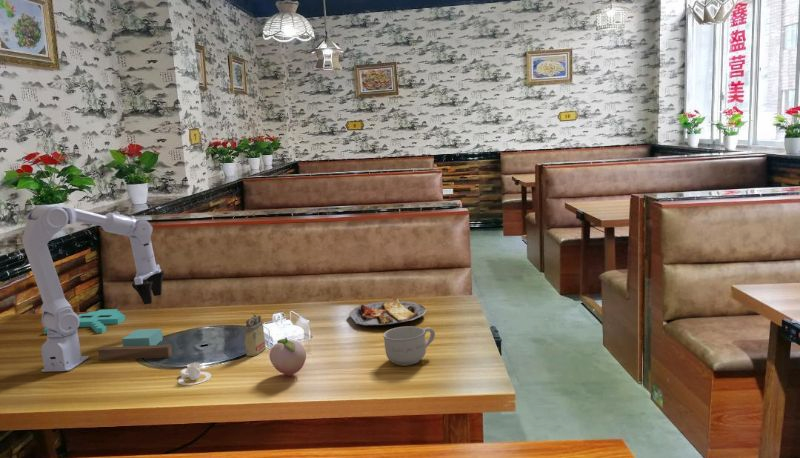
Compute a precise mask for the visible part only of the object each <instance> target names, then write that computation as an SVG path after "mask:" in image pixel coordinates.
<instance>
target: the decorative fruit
mask: <svg viewBox="0 0 800 458" xmlns="http://www.w3.org/2000/svg"><path fill="white" fill-rule="evenodd" d="M284 337H285V336H284ZM268 356H269V359H270V363H271V364H272V366H273V367H274V368H275V370H276V371H278V373H280V374H283V375H285V376H287V377H291V376H293V375H295V374H297V373H298V372H300V371H301V370H302V368H303V366H304V364H305V362H306V360H307V351H306V348H305V346H304V345H303V344H302V343H300V342H298V341H297V340H293V339H288V337H285V338H282V339H281V338H280V339H278V340H277V343H275V344H274V345H273V346H272V348H271V349H270V352H269V355H268Z"/></svg>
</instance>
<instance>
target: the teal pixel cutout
mask: <svg viewBox="0 0 800 458" xmlns="http://www.w3.org/2000/svg"><path fill="white" fill-rule="evenodd" d="M77 315H78V317H79V319H80V324H79V327H78V328H90V329H91V330H93V332H95V334H103V332H104V333H106V332H107V326H106V325H119V324H121V323H122V322H124V321H126V315H125V314H123V312H121V311H120V310H118V309H117V308H112V309H110V308H109V309H98V310H95V311H89V312H87V313H79V314H77ZM47 332H48V329H46V328H45V327H44V329H43V334H44V335H45V334H47Z"/></svg>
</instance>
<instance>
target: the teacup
mask: <svg viewBox="0 0 800 458" xmlns="http://www.w3.org/2000/svg"><path fill="white" fill-rule="evenodd" d="M428 332H429V337H428V339H426V334H427V333H428ZM382 335H383V340H384V342H383V343H384V350H385V355H386V357H387V359H388V360H389V361H390V362H392V363H393V364H395V365H397V366H403V367H404V366H411V365H415V364H418V363H419V362H420V361H421V360H422V359H423V358H424V356H425V354H426V352H427V348H428V346H429V345H430V344H431V343H433V341H434V339H435V337H436V332H435V330H434V329H433V328H432V327H429V326H428V327H424V328H423V327H419V326H412V325H411V326H410V325H409V326H407V325H405V326H399V327H394V328H391V329H388V330H386V331H385V332H384V333H383V334H382Z"/></svg>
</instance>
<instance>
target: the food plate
mask: <svg viewBox="0 0 800 458" xmlns="http://www.w3.org/2000/svg"><path fill="white" fill-rule="evenodd" d="M426 312H427V309H426V308H425V307H424V306H423V305H422V304H419V303H417V302H413V301H405V300H399V299H398V297H394V298H392V299H389V300H385V301H375V302H371V303H366V304H360V306H356V307H354V308H353V309H352V310H350V312H349V313H348V316H349V317H350V319H351V320H352V321H354V323H355V324H358V325H362V326H390V325H396V324H398V325H399V324H403V323H407V322H409V321H410V322H411V321H415V320H416V319H418V318H421V317H422V316H423V315H425V313H426Z"/></svg>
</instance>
